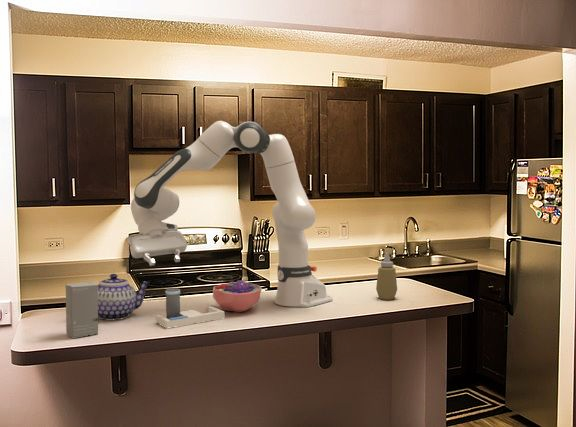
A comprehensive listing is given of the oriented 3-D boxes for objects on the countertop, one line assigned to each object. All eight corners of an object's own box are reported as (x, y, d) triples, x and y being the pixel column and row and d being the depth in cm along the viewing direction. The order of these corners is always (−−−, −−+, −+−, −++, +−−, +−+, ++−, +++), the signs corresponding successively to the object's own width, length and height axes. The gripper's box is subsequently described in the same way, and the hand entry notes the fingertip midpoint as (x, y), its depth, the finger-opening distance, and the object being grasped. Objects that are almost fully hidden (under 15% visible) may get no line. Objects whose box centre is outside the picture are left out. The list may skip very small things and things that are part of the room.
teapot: (77, 326, 194) (75, 280, 192) (74, 315, 208) (73, 272, 206) (155, 318, 203) (154, 274, 202) (147, 308, 217) (146, 267, 216)
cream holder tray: (212, 313, 209) (212, 305, 209) (224, 318, 202) (224, 310, 202) (156, 323, 197) (156, 314, 197) (166, 328, 190) (166, 319, 190)
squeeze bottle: (397, 301, 226) (397, 254, 225) (375, 300, 227) (376, 254, 226) (396, 296, 234) (397, 251, 233) (376, 295, 235) (376, 250, 234)
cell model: (250, 302, 226) (250, 272, 225) (268, 314, 208) (268, 282, 207) (206, 306, 220) (206, 276, 219) (221, 319, 202) (221, 286, 201)
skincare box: (72, 339, 179) (70, 287, 178) (65, 333, 185) (63, 283, 184) (100, 334, 184) (98, 284, 183) (92, 329, 190) (91, 280, 189)
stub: (177, 320, 200) (176, 287, 199) (183, 322, 196) (182, 290, 195) (163, 322, 197) (163, 289, 196) (169, 325, 193) (169, 291, 192)
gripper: (126, 230, 207) (139, 261, 200) (180, 224, 219) (194, 253, 212) (123, 241, 211) (135, 272, 204) (176, 235, 223) (189, 264, 216)
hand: (165, 262), depth 208 cm, fingers open, 8 cm apart
